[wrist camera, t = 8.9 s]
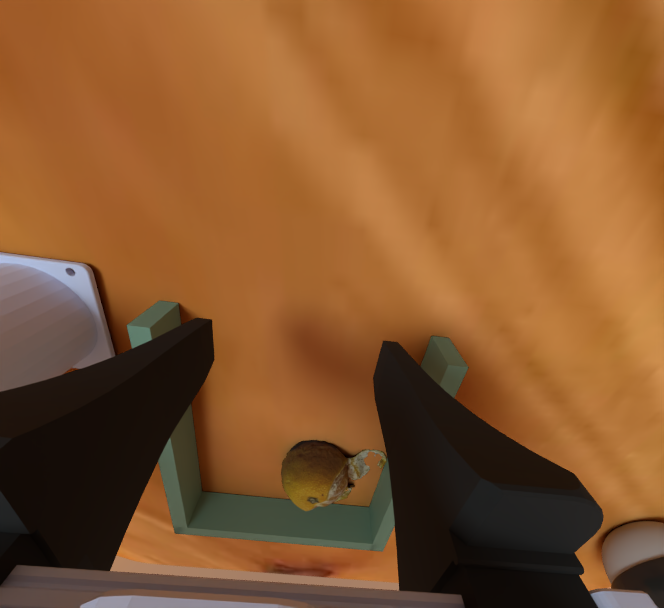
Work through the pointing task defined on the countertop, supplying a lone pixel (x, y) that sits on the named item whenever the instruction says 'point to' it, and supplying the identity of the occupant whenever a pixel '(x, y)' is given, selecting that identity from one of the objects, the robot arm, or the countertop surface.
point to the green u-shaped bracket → (271, 513)
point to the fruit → (321, 473)
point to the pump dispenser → (636, 558)
